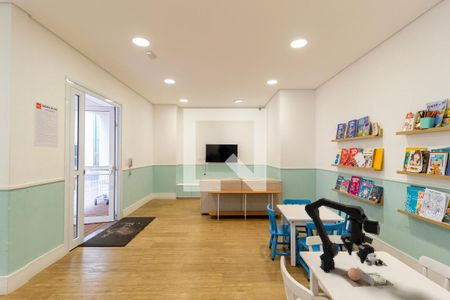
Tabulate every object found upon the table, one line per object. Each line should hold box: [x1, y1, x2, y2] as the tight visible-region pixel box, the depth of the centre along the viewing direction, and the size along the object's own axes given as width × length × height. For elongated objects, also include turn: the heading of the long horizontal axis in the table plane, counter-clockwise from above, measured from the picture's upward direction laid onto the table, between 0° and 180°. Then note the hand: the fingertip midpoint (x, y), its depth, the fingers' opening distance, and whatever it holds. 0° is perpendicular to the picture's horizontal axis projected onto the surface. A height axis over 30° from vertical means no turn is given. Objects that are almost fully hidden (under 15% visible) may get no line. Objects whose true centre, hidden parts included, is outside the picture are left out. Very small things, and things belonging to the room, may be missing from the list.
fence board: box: [339, 266, 395, 288], centre depth 120 cm, size 22×12×4 cm, turn 95°
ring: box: [366, 271, 387, 284], centre depth 121 cm, size 9×9×1 cm
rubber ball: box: [347, 267, 361, 281], centre depth 120 cm, size 6×6×6 cm
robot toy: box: [353, 249, 386, 266], centre depth 143 cm, size 12×4×15 cm
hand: (356, 259), depth 121 cm, fingers open, 9 cm apart
